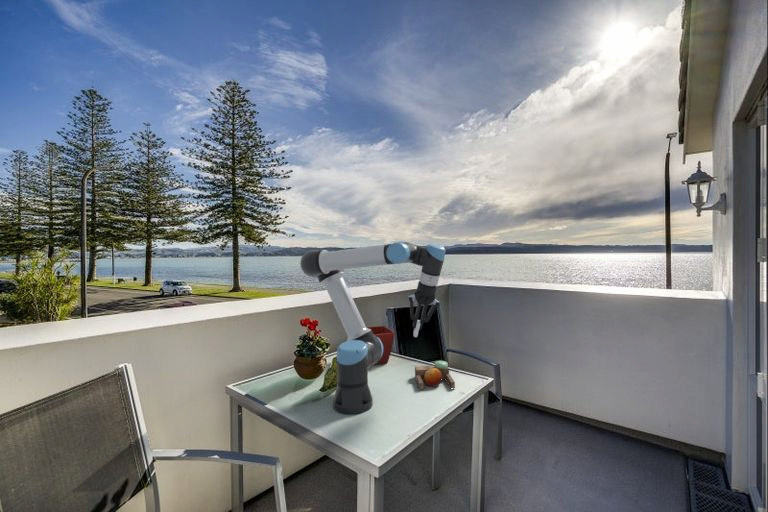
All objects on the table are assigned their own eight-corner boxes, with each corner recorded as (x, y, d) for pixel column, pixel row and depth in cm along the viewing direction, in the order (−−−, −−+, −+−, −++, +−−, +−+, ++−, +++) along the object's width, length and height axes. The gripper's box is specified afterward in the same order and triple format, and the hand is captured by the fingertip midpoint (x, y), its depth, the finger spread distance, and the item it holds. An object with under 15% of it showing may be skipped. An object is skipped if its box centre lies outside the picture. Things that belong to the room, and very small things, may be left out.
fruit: (445, 385, 140) (435, 368, 141) (429, 393, 142) (419, 376, 144) (447, 378, 148) (437, 362, 149) (432, 386, 150) (423, 370, 151)
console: (416, 380, 150) (416, 369, 150) (414, 376, 155) (414, 366, 155) (449, 379, 151) (448, 368, 151) (446, 375, 156) (446, 365, 156)
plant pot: (352, 358, 185) (351, 328, 185) (384, 354, 191) (384, 325, 191) (360, 369, 167) (359, 335, 167) (395, 364, 173) (395, 332, 173)
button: (436, 380, 150) (436, 365, 150) (433, 375, 156) (433, 361, 156) (449, 379, 150) (449, 364, 150) (446, 375, 156) (446, 360, 156)
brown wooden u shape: (419, 390, 139) (419, 383, 139) (416, 380, 150) (416, 374, 150) (454, 389, 140) (454, 382, 140) (449, 379, 151) (448, 373, 151)
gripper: (412, 282, 128) (400, 336, 134) (445, 289, 128) (431, 342, 134) (411, 276, 135) (399, 328, 141) (442, 282, 135) (429, 333, 141)
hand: (415, 335), depth 138 cm, fingers closed
